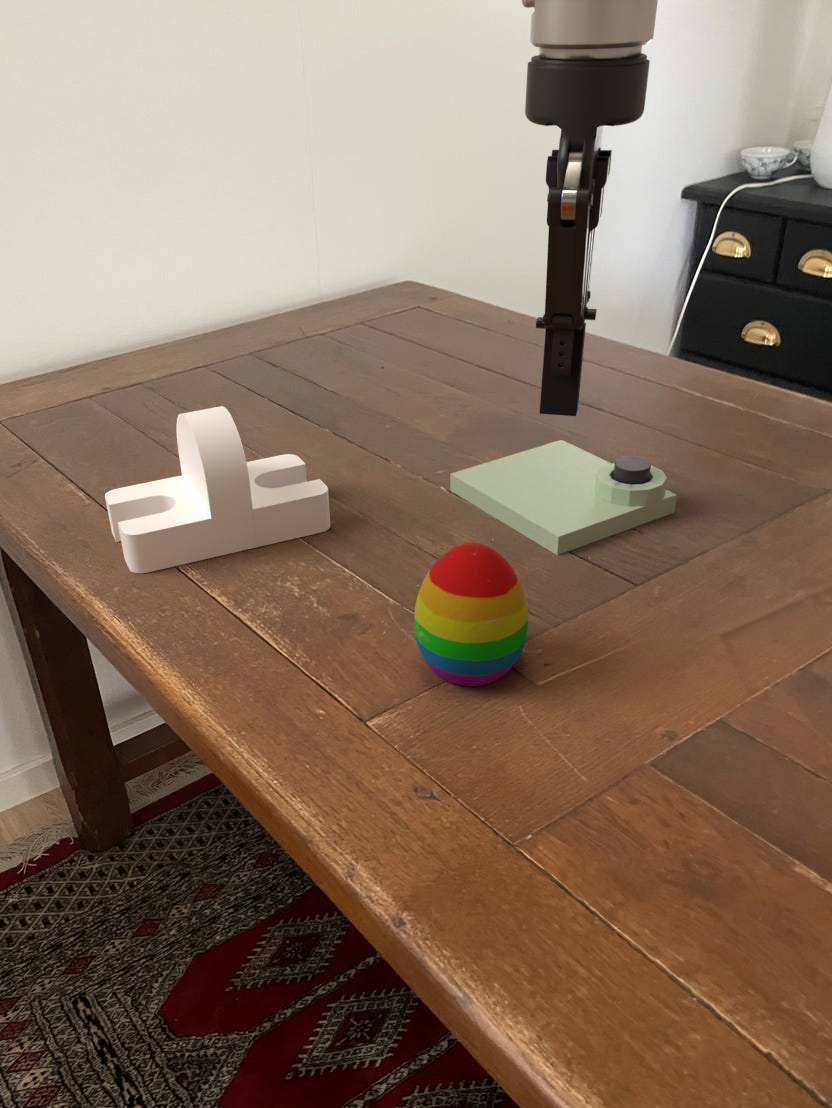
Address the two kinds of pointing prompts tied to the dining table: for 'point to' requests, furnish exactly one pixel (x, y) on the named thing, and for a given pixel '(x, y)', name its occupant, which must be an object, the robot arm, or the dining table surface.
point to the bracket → (215, 500)
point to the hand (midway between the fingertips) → (558, 411)
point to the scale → (562, 495)
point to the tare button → (631, 470)
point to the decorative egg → (471, 616)
